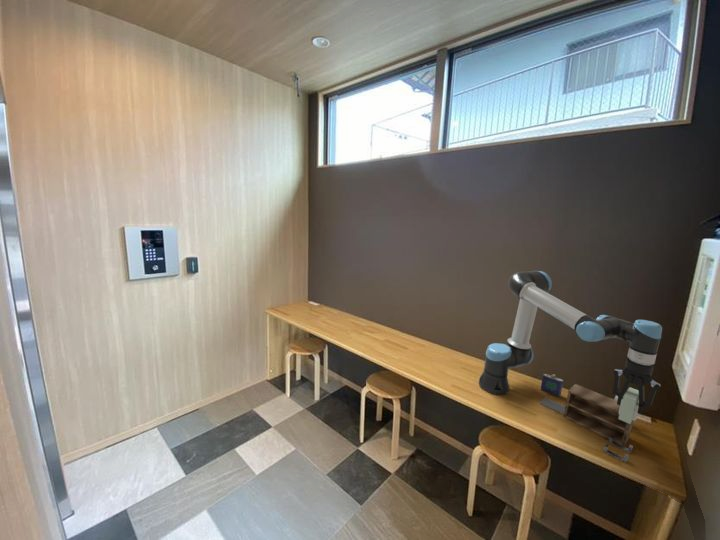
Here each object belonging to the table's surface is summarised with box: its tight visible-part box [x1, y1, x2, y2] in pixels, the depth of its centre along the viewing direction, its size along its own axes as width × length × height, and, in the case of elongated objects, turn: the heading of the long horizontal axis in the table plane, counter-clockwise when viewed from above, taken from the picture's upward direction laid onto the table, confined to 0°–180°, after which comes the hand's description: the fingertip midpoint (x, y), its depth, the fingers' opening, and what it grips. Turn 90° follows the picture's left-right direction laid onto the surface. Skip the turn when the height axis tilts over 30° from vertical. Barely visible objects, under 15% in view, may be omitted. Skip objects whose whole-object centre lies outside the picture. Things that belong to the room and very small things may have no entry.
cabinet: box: [563, 383, 634, 447], centre depth 132 cm, size 22×9×14 cm, turn 38°
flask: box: [540, 373, 564, 397], centre depth 157 cm, size 9×3×11 cm, turn 51°
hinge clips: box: [603, 436, 634, 464], centre depth 119 cm, size 7×10×2 cm
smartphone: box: [539, 397, 566, 416], centre depth 145 cm, size 8×1×15 cm
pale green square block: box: [618, 386, 639, 424], centre depth 114 cm, size 4×10×10 cm, turn 128°
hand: (627, 416), depth 116 cm, fingers closed on pale green square block, 3 cm apart
